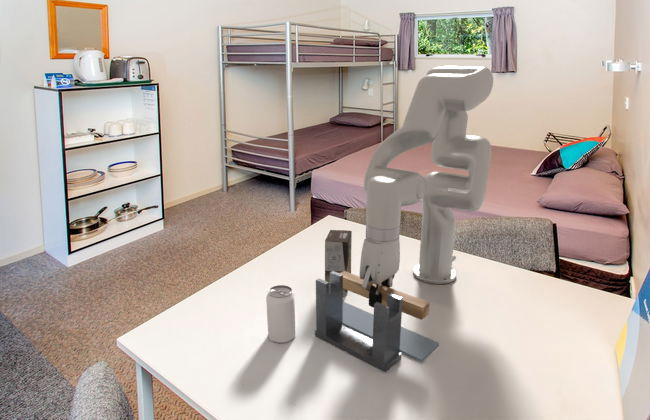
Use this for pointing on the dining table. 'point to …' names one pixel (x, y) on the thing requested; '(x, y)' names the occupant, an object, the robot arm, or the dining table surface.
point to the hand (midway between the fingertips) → (379, 303)
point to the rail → (409, 302)
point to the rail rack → (330, 329)
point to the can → (281, 314)
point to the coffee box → (338, 253)
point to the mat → (409, 340)
